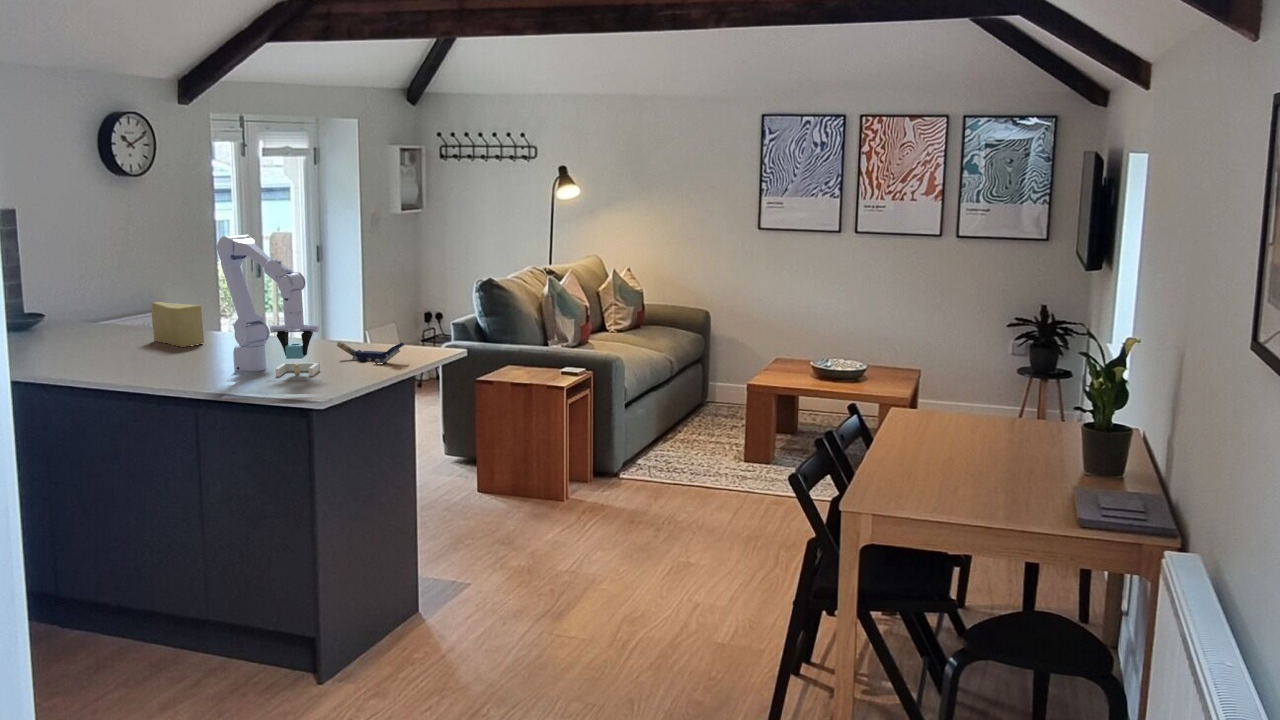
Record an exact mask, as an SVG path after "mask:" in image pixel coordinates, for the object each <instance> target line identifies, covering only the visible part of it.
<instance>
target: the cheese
mask: <svg viewBox="0 0 1280 720" xmlns="http://www.w3.org/2000/svg"><path fill="white" fill-rule="evenodd" d="M202 312H203V311H202V306H201V305H198V304H188V303H187V304H186V303H170V302H164V301H155V302H152V303H151V319H152V320H151V321H152V330H153V340H154V342H155V341H158V342H157V343H159V342H163V343H162V344H164V343H168V344H167V345H169V344H173V345H172V346H174V345H176V347H178V346H180V348H182V347H186V346H191V345H196V344H201V343H205V339H204V338H205V337H204V326H203V313H202ZM186 348H187V347H186Z"/></svg>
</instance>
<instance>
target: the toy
mask: <svg viewBox="0 0 1280 720" xmlns="http://www.w3.org/2000/svg"><path fill="white" fill-rule="evenodd" d="M336 346H337V347H338V348H339V349H341V350H342V351H343V352H346V353H347V354H348V355H350V356H352V358H351V360H353V361H357V362H358V361H359V362H374V363H385V362H387V363H388V362H389V361H390V360H391V359H392V358H394V357H395V356H396V355H397V354H399V353H400V352H401V350H400V348H402V347H404V346H405V344H404V342H400V343H398V344H396V345H394V346H392V347H390V348H389V349H388V350H387V351H381V350H378V351H377V350H363V351H362V350H361V349H357V350H355V349H353V348H352V347H350V346H348V345H347V344H345V343H344V342H342V341H341V340H340V341H338V342H337V344H336ZM385 364H386V363H385Z"/></svg>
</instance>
